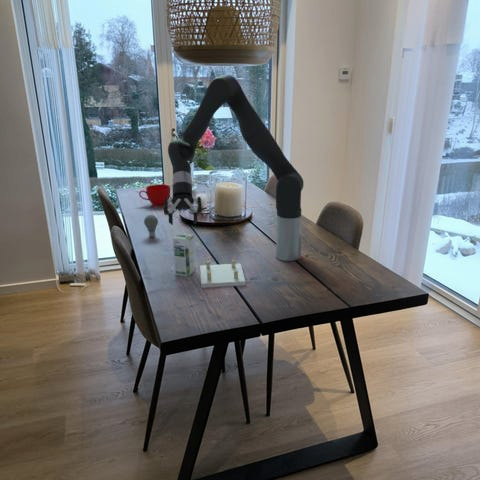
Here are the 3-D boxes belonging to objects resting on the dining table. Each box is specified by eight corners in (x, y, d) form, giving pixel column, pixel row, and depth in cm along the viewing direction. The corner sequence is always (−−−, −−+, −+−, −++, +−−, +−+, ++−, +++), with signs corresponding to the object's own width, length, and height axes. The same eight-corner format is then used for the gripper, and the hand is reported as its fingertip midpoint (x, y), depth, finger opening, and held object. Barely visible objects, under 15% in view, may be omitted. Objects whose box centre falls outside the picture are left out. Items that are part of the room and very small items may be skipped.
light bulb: (145, 239, 191) (144, 217, 187) (144, 234, 196) (143, 213, 193) (159, 238, 192) (158, 216, 189) (158, 233, 198) (156, 212, 194)
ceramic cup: (139, 203, 244) (137, 186, 240) (169, 200, 249) (168, 183, 245) (141, 209, 232) (139, 191, 229) (173, 206, 237) (171, 189, 234)
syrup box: (174, 275, 157) (172, 237, 152) (181, 268, 162) (179, 232, 157) (189, 277, 155) (187, 239, 150) (195, 270, 160) (194, 233, 155)
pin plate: (240, 267, 163) (240, 257, 162) (245, 285, 149) (245, 274, 148) (200, 269, 162) (199, 259, 160) (201, 287, 148) (200, 277, 146)
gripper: (162, 181, 164) (163, 219, 158) (200, 180, 166) (202, 218, 159) (164, 191, 171) (164, 228, 164) (200, 190, 172) (202, 227, 166)
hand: (183, 223), depth 162 cm, fingers open, 8 cm apart
